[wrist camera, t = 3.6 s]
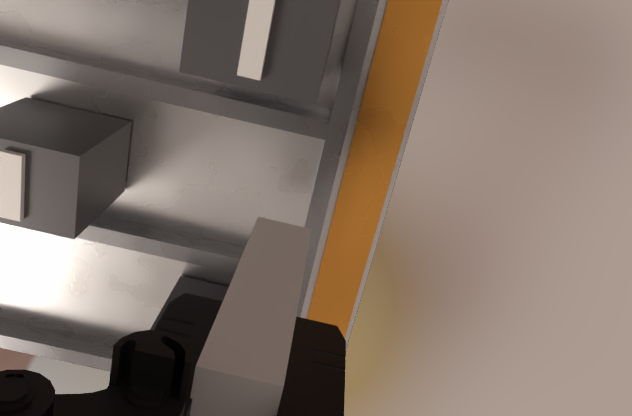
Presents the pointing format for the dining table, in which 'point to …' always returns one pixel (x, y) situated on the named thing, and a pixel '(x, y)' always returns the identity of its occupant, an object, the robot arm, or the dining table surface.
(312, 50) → the breaker
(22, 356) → the dining table surface
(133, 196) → the panel
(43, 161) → the breaker mid
